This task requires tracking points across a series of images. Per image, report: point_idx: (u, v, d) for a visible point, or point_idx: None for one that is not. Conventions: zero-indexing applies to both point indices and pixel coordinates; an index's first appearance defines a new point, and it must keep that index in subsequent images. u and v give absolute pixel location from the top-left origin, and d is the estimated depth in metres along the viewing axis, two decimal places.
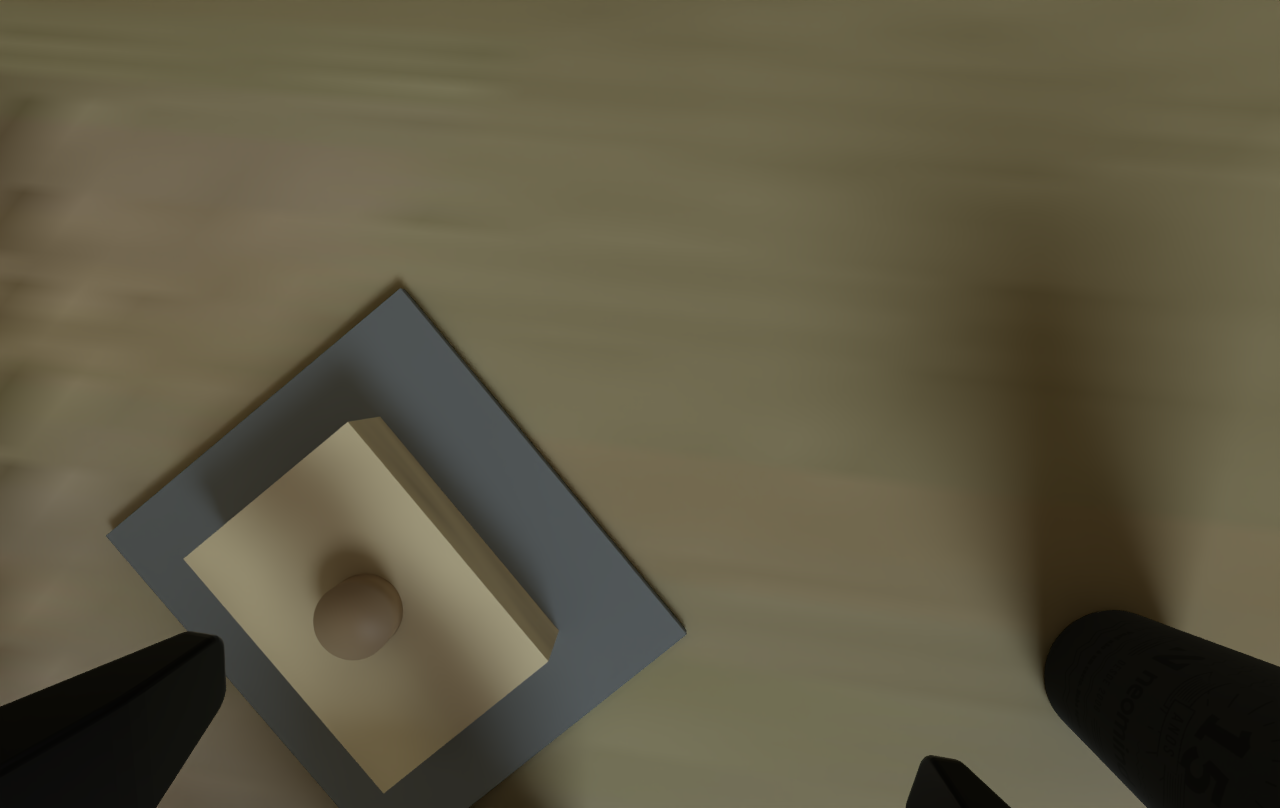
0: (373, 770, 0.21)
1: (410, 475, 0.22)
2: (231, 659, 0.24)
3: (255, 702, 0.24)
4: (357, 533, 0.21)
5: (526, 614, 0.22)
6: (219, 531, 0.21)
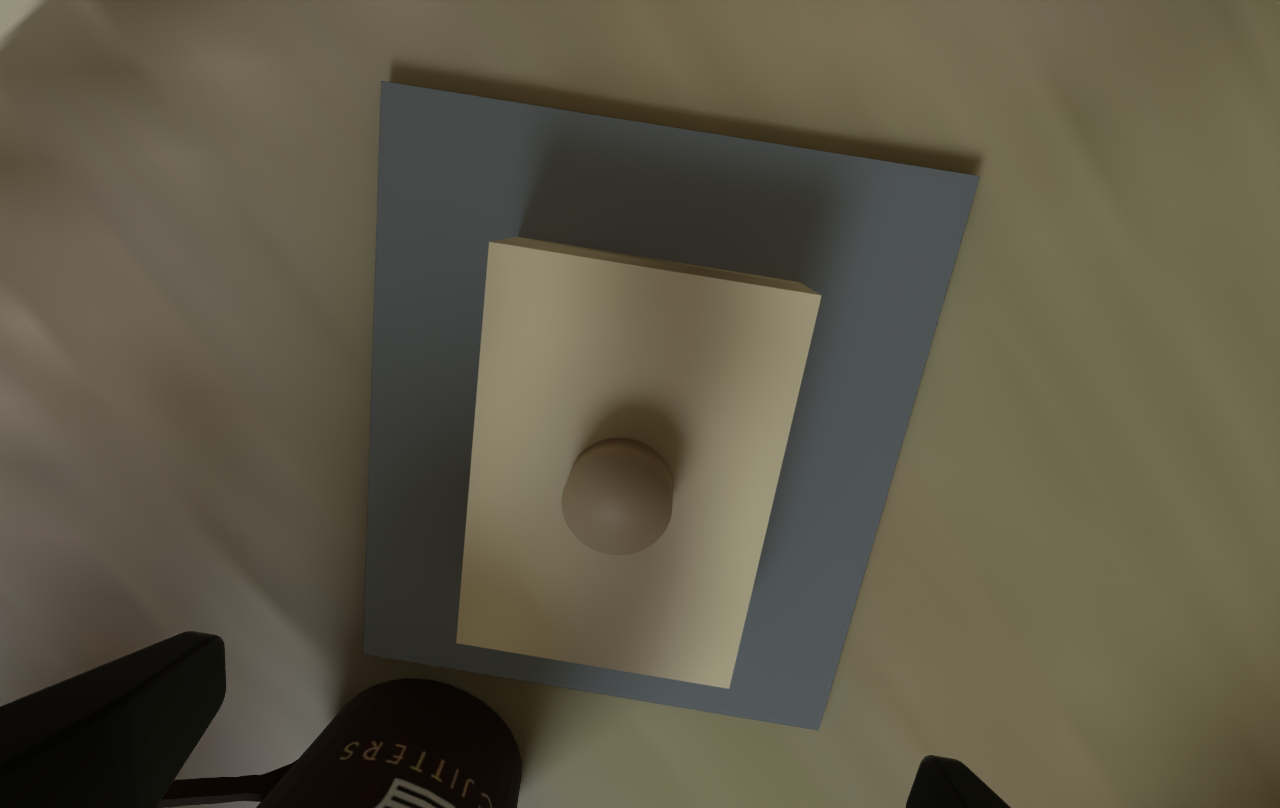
0: (468, 618, 0.16)
1: None
2: (393, 348, 0.17)
3: (378, 410, 0.17)
4: (696, 412, 0.14)
5: None
6: (559, 256, 0.14)
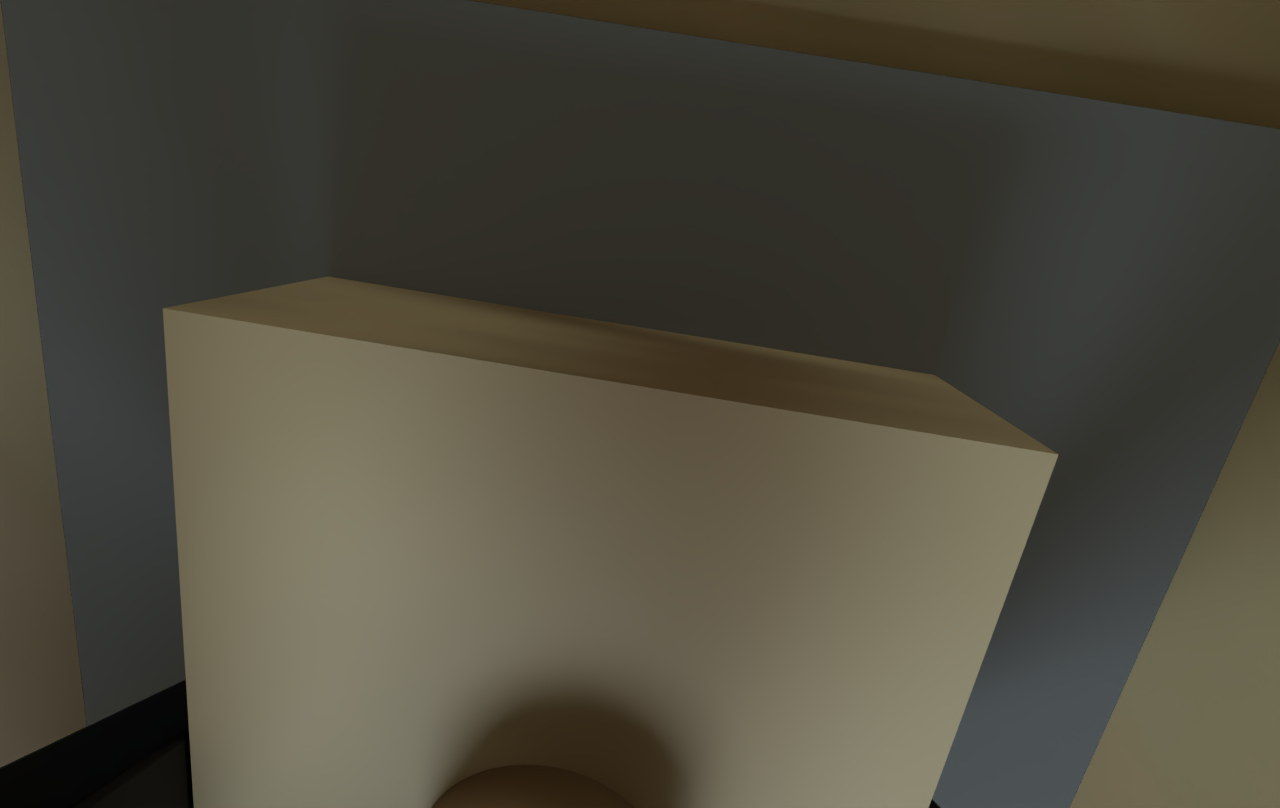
0: None
1: None
2: (101, 495, 0.08)
3: (86, 610, 0.09)
4: (716, 716, 0.06)
5: None
6: (353, 347, 0.05)
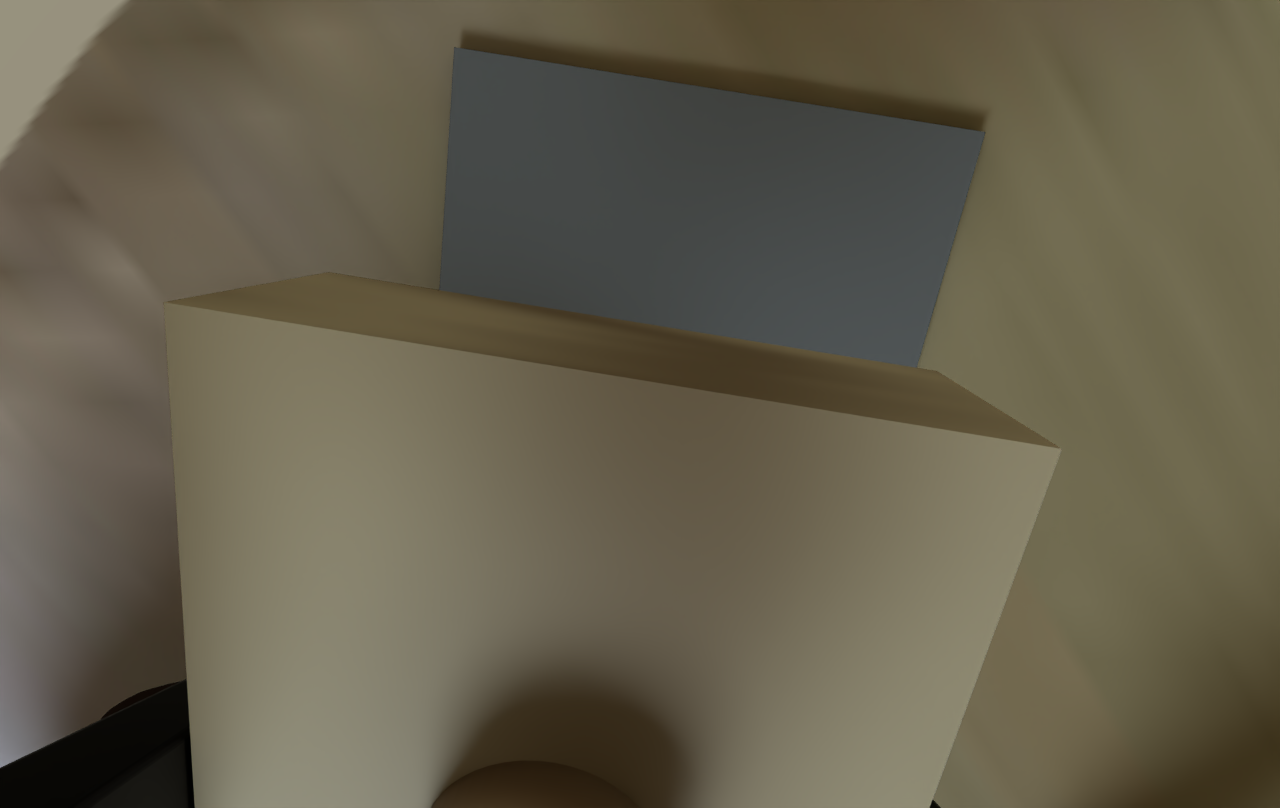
0: None
1: None
2: (458, 290, 0.19)
3: None
4: (719, 712, 0.06)
5: None
6: (354, 341, 0.05)
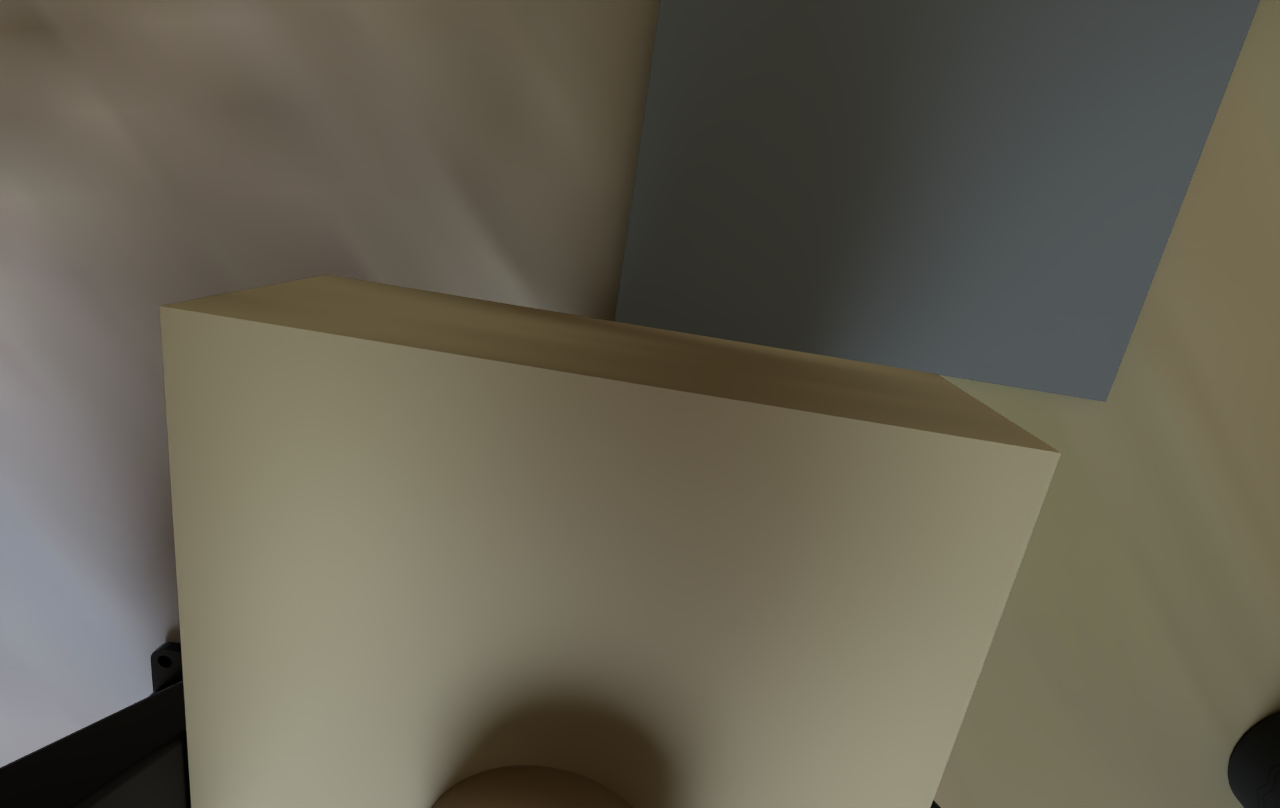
0: None
1: None
2: None
3: (668, 8, 0.16)
4: (717, 717, 0.06)
5: None
6: (351, 345, 0.05)
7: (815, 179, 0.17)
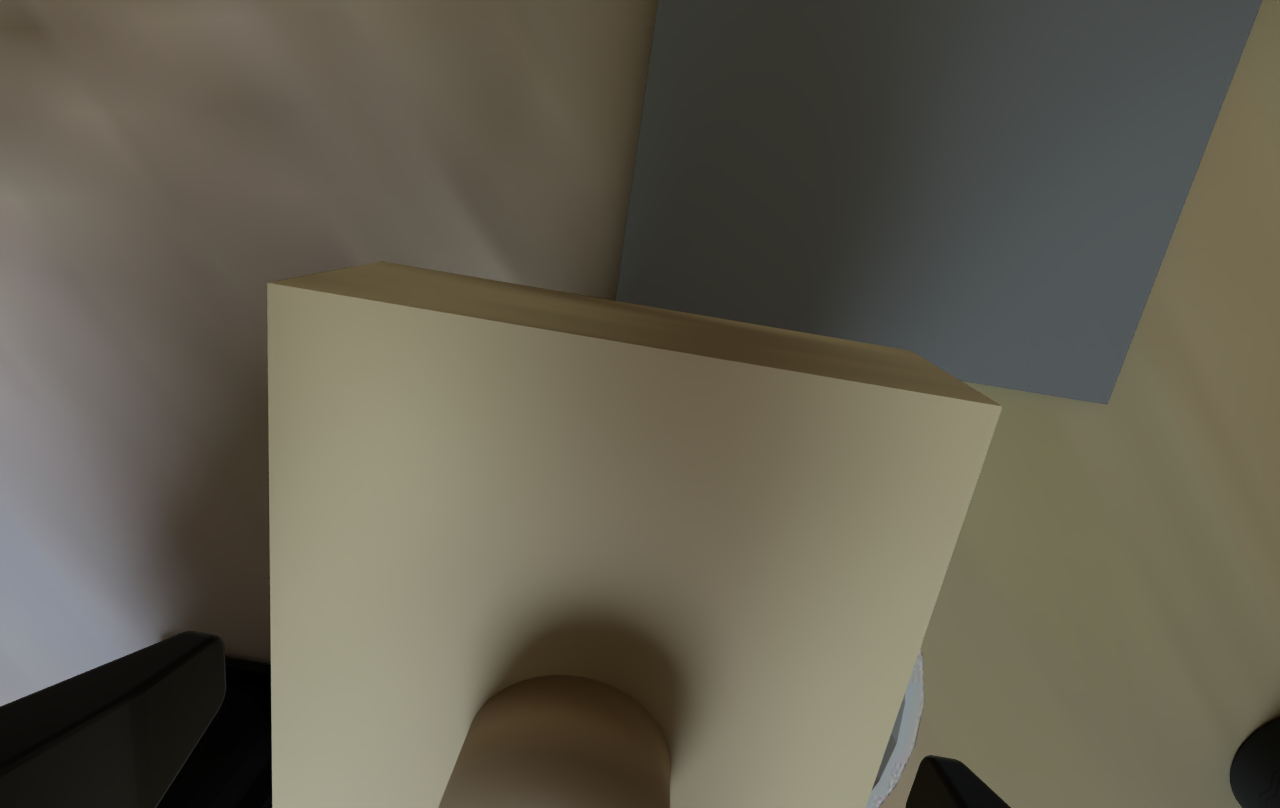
0: None
1: None
2: None
3: (666, 8, 0.16)
4: (721, 632, 0.07)
5: None
6: (423, 316, 0.06)
7: (814, 180, 0.17)
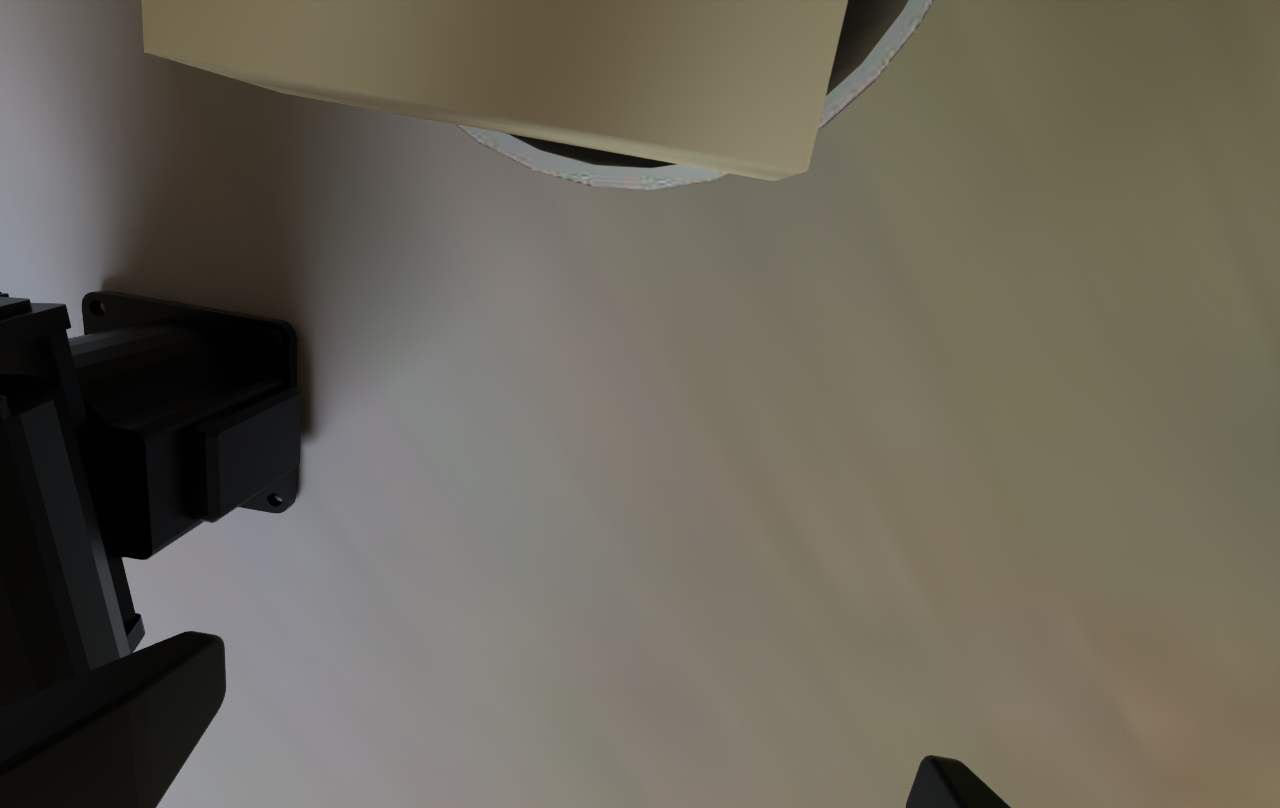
0: None
1: None
2: None
3: None
4: None
5: None
6: None
7: None
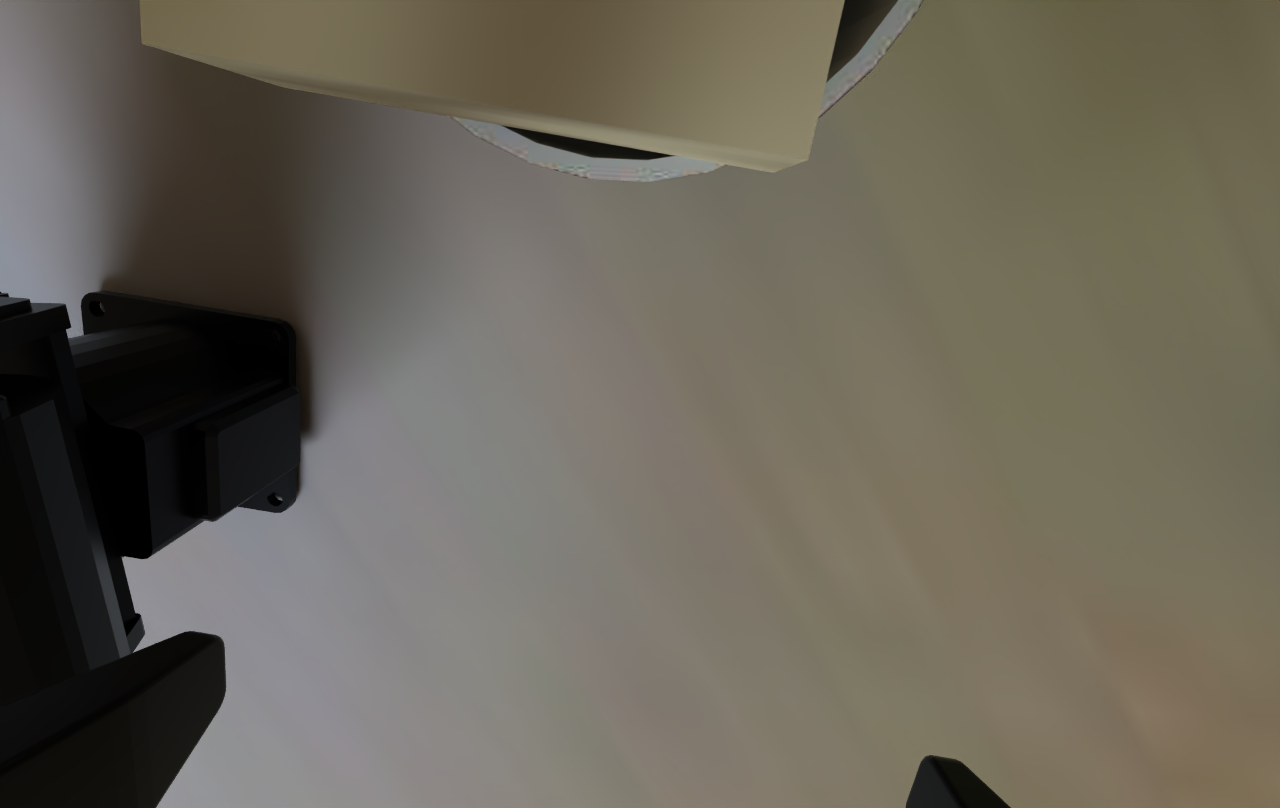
0: None
1: None
2: None
3: None
4: None
5: None
6: None
7: None
